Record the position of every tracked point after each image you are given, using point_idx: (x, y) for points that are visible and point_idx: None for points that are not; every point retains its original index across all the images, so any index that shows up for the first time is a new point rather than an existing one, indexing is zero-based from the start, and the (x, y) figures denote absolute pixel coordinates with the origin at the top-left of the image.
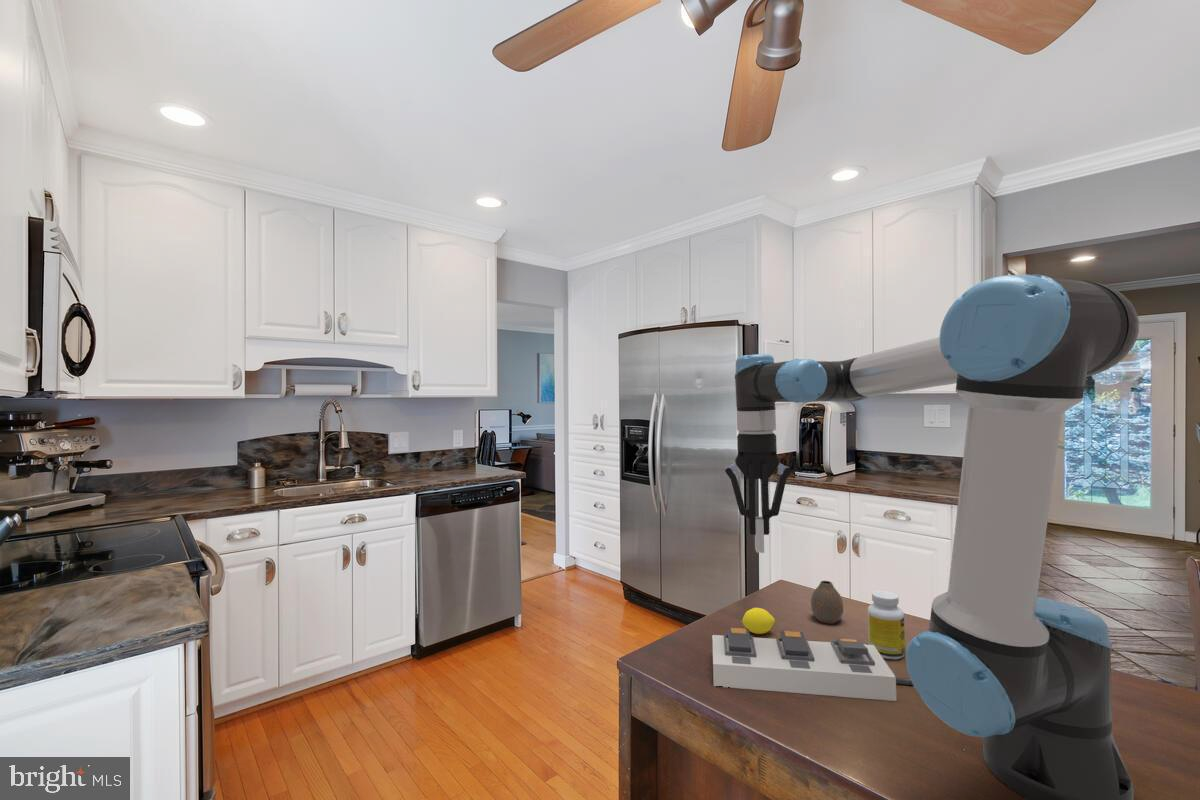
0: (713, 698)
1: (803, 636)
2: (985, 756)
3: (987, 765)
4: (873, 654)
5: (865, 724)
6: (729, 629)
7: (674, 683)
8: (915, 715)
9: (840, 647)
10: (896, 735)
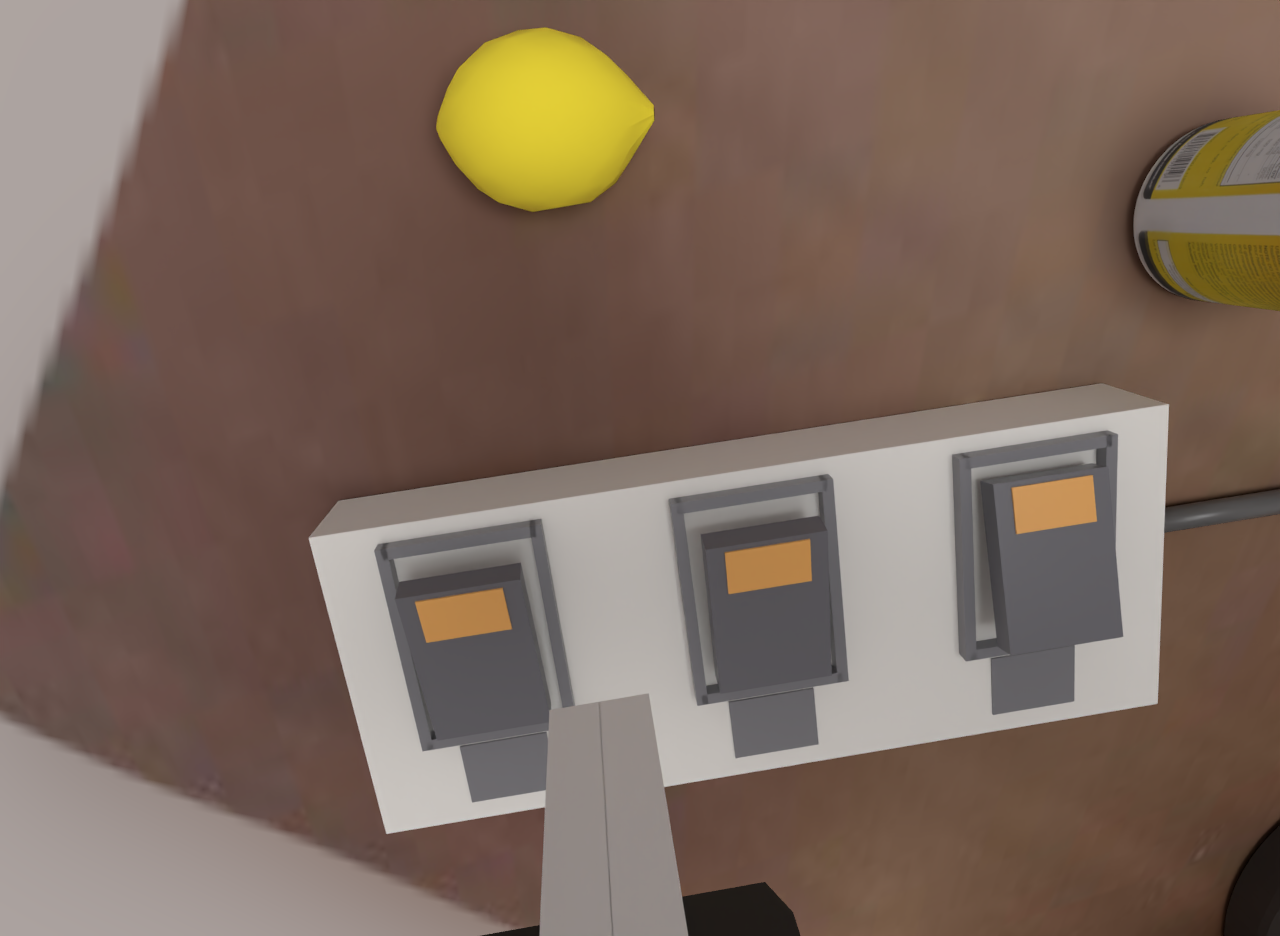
0: (422, 845)
1: (824, 568)
2: (1242, 922)
3: (1227, 919)
4: (1133, 515)
5: (948, 826)
6: (409, 616)
7: (239, 796)
8: (1130, 723)
9: (993, 576)
10: (1029, 851)
